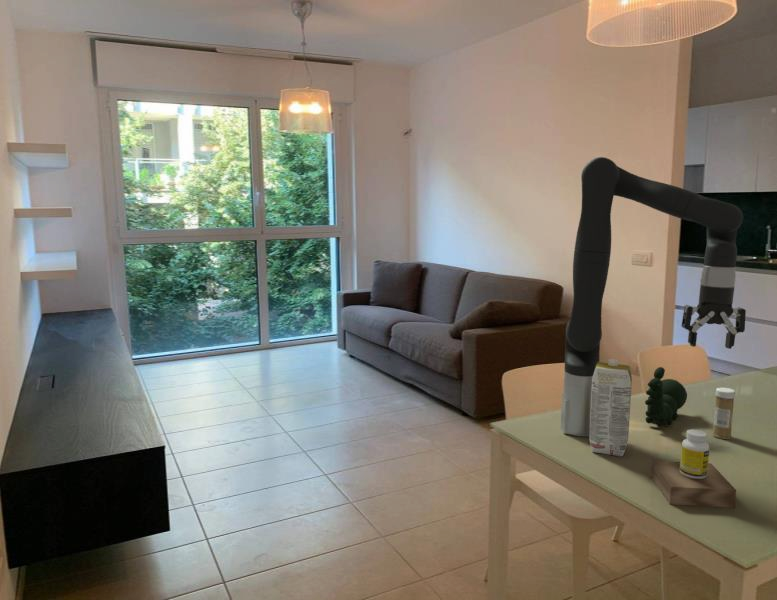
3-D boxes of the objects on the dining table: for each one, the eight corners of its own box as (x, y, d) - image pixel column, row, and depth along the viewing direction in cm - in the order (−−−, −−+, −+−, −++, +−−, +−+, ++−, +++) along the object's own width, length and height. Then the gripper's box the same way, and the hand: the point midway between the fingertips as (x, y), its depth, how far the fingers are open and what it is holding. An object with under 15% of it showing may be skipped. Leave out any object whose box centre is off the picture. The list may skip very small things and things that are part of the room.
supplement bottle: (706, 482, 128) (709, 439, 126) (678, 476, 131) (681, 434, 129) (707, 472, 132) (711, 430, 131) (681, 467, 135) (684, 426, 134)
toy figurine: (669, 441, 164) (691, 408, 183) (672, 376, 160) (694, 350, 178) (634, 433, 170) (659, 402, 189) (636, 370, 166) (661, 346, 184)
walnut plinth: (669, 504, 126) (671, 486, 126) (651, 476, 139) (652, 460, 139) (734, 507, 125) (736, 490, 124) (709, 479, 137) (711, 463, 137)
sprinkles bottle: (734, 437, 162) (738, 390, 160) (725, 441, 160) (729, 393, 157) (717, 432, 166) (721, 385, 164) (708, 435, 163) (712, 388, 161)
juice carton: (628, 447, 156) (633, 359, 152) (626, 459, 149) (632, 366, 145) (590, 442, 160) (595, 355, 156) (587, 453, 153) (592, 363, 149)
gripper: (692, 284, 146) (686, 348, 149) (754, 287, 144) (746, 352, 147) (682, 281, 153) (676, 342, 156) (741, 283, 151) (733, 345, 154)
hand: (710, 346), depth 151 cm, fingers open, 8 cm apart
